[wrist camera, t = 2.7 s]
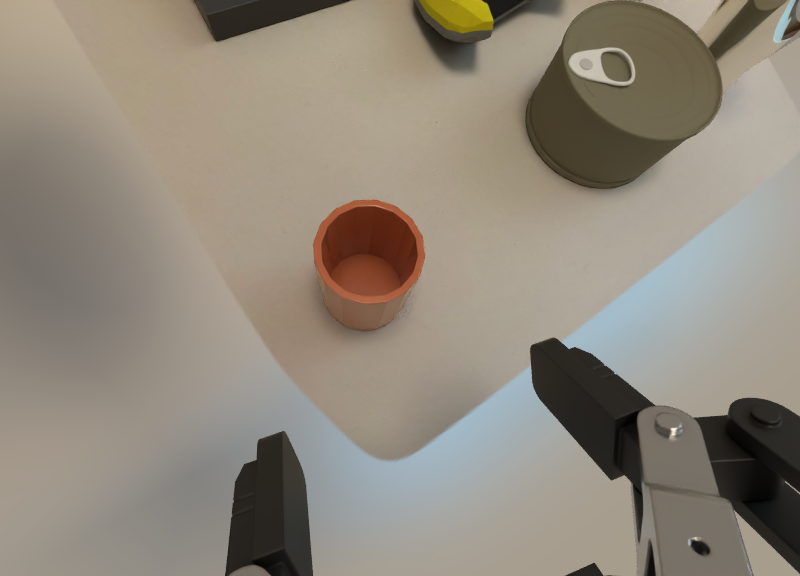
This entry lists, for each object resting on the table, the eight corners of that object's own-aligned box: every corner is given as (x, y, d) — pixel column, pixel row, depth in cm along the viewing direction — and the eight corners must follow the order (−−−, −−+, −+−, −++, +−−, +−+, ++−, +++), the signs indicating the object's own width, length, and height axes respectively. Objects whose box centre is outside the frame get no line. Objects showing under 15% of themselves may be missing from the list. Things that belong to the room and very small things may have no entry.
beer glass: (639, 64, 38) (812, -140, 24) (694, 45, 40) (889, -157, 25) (681, 124, 37) (892, -54, 23) (736, 102, 38) (967, -78, 24)
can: (670, 190, 35) (744, 140, 28) (535, 191, 33) (581, 138, 27) (637, 73, 38) (697, 3, 31) (513, 69, 36) (549, -5, 30)
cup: (346, 345, 28) (345, 323, 20) (308, 273, 29) (294, 226, 22) (419, 307, 29) (444, 272, 22) (381, 239, 30) (391, 183, 23)
